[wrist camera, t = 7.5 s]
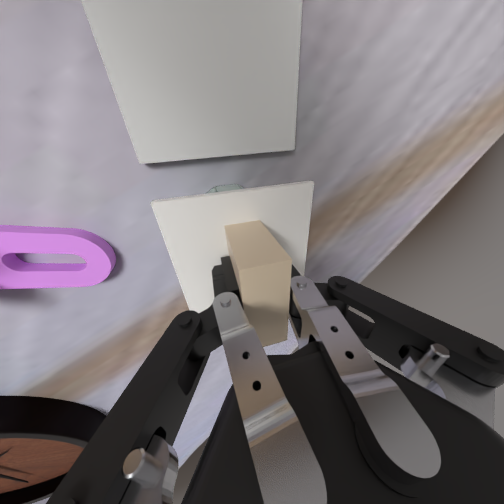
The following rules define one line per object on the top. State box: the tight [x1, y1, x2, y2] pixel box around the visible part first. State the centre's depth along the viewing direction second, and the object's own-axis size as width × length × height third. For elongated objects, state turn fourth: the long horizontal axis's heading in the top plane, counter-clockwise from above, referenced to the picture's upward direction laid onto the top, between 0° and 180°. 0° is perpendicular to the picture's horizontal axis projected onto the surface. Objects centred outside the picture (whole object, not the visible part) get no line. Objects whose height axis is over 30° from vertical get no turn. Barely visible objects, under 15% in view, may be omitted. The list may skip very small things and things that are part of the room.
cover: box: [151, 181, 314, 347], centre depth 12 cm, size 10×10×6 cm
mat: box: [81, 0, 302, 164], centre depth 12 cm, size 13×13×1 cm
